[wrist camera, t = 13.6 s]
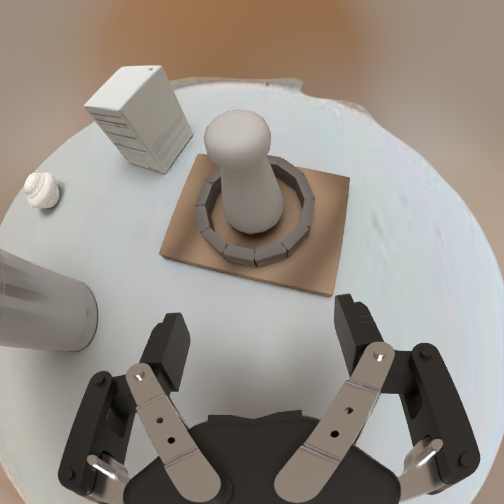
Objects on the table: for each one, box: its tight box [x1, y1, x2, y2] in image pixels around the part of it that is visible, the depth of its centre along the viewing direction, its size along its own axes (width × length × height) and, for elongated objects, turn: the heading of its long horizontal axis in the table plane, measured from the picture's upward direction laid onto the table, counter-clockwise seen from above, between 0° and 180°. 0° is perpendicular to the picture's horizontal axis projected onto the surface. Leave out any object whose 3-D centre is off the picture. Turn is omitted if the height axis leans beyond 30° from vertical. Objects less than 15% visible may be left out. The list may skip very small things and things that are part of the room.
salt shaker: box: [204, 110, 284, 234], centre depth 21 cm, size 6×6×13 cm
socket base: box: [159, 154, 350, 297], centre depth 27 cm, size 18×13×4 cm
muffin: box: [24, 172, 60, 209], centre depth 31 cm, size 6×6×7 cm
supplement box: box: [84, 66, 193, 174], centre depth 28 cm, size 7×7×13 cm
